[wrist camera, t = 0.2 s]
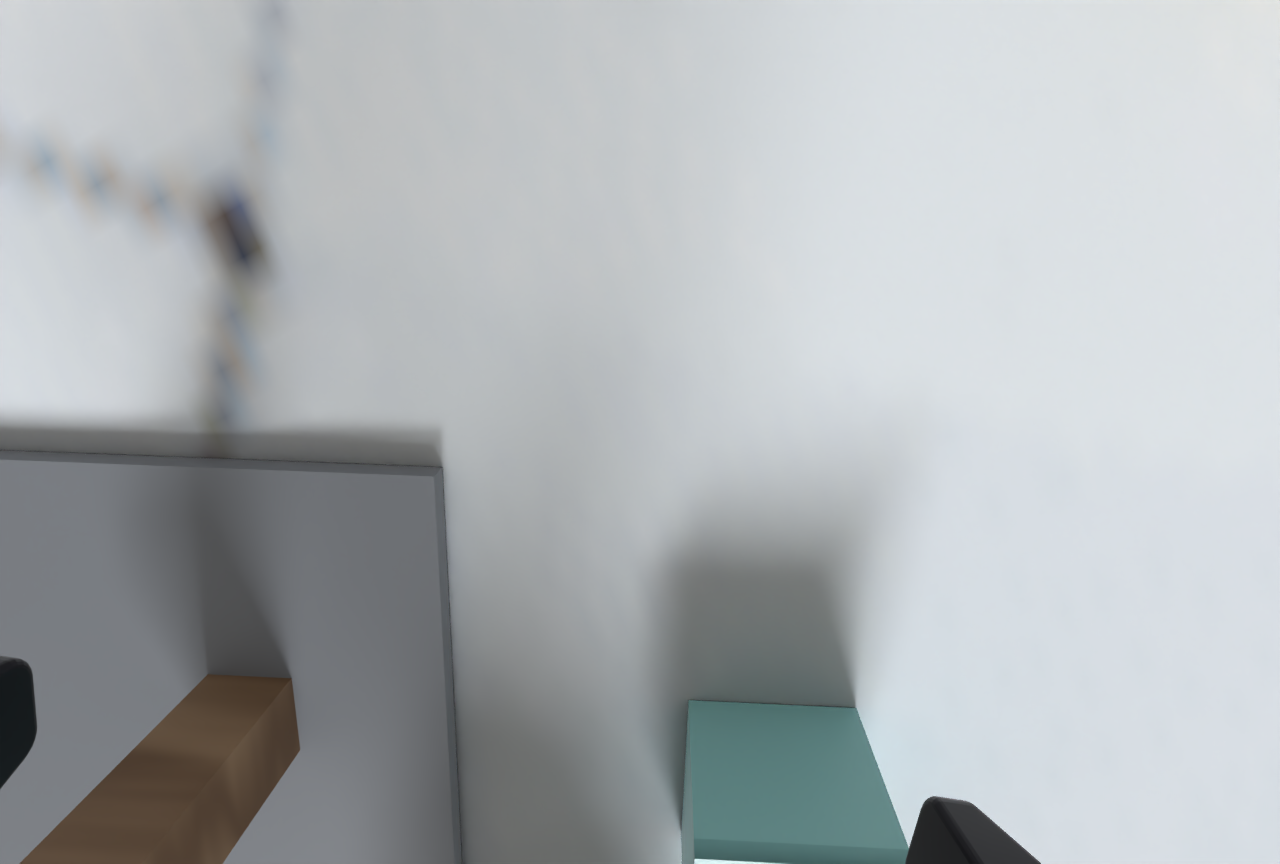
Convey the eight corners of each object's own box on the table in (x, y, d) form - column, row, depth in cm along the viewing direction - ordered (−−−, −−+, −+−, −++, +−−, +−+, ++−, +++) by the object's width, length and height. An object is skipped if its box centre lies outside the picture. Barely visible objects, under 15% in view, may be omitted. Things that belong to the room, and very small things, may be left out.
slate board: (463, 902, 26) (457, 923, 25) (-259, 862, 27) (-287, 882, 26) (442, 466, 22) (434, 476, 21) (-426, 433, 22) (-465, 441, 22)
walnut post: (300, 749, 24) (153, 964, 17) (218, 746, 24) (40, 957, 17) (291, 678, 23) (135, 872, 16) (207, 674, 23) (17, 865, 16)
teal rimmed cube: (839, 842, 25) (890, 1033, 19) (681, 834, 25) (685, 1021, 19) (856, 708, 23) (916, 870, 18) (688, 699, 24) (694, 858, 18)
